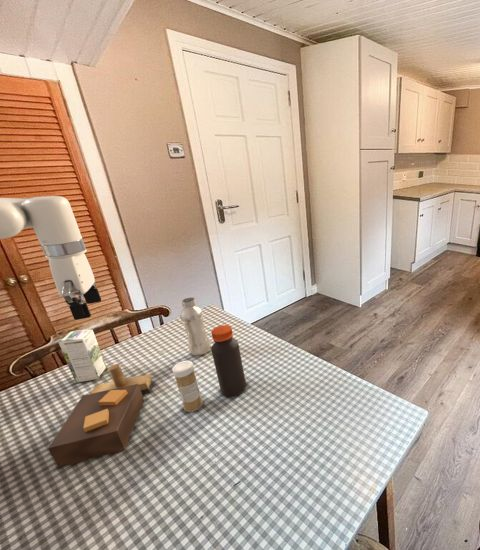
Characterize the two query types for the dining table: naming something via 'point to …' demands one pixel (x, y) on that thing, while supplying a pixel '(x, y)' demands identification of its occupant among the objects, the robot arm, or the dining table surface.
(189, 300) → the plastic bottle
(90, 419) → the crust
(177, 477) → the dining table surface
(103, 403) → the crust
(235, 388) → the vinegar
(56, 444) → the brown box
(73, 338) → the syrup box
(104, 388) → the brush
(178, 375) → the sprinkles bottle
